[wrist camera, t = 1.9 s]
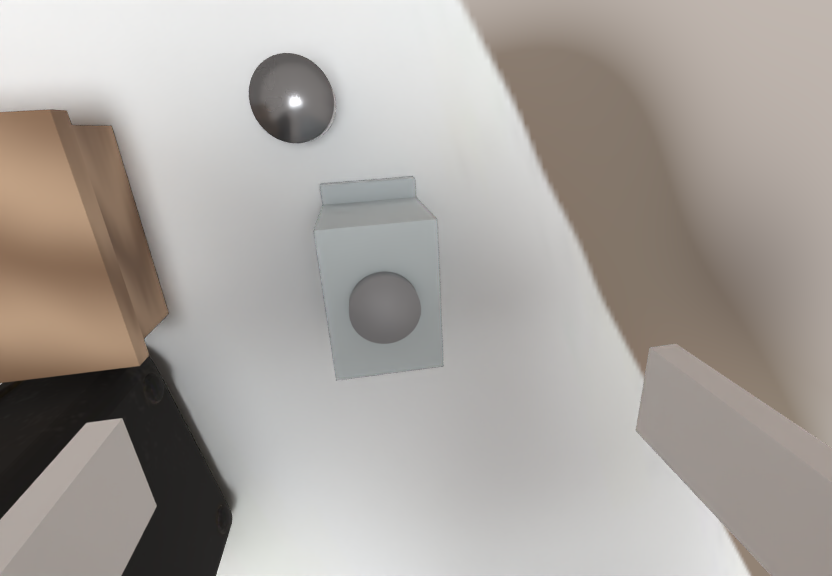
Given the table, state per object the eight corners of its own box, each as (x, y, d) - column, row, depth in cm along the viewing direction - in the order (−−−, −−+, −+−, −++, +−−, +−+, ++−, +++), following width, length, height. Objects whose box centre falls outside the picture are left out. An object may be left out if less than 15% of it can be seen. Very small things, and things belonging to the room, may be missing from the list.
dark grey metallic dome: (340, 138, 22) (338, 140, 19) (269, 143, 22) (258, 145, 19) (331, 61, 21) (327, 51, 18) (255, 65, 20) (240, 55, 17)
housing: (421, 321, 26) (447, 394, 19) (342, 331, 26) (338, 409, 19) (412, 176, 23) (440, 197, 16) (321, 183, 23) (307, 209, 15)
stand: (180, 320, 24) (139, 365, 19) (-32, 343, 23) (-128, 398, 18) (119, 113, 20) (49, 109, 15) (-142, 128, 19) (-302, 129, 14)
